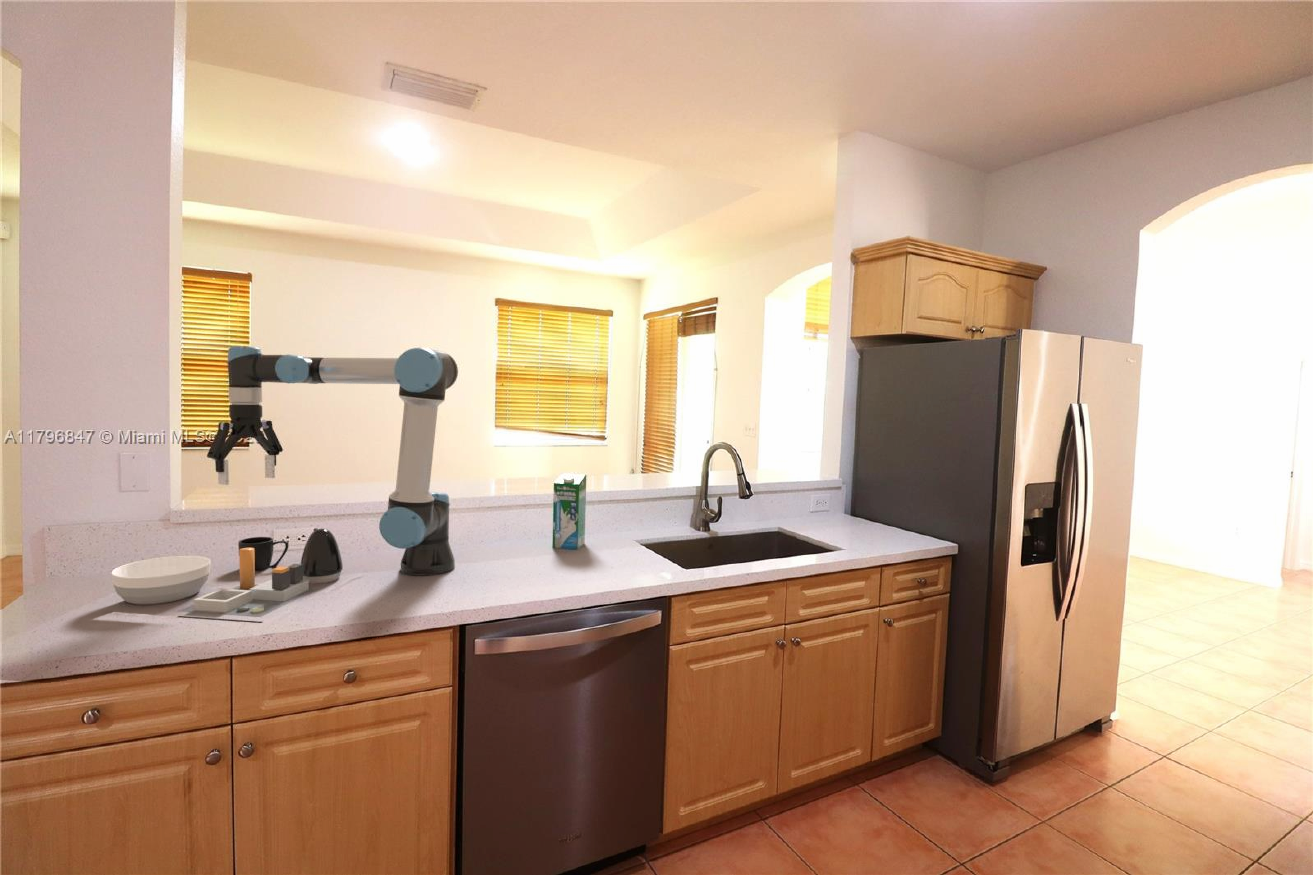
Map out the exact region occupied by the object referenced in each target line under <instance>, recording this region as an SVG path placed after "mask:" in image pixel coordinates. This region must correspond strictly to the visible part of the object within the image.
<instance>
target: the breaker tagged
mask: <svg viewBox="0 0 1313 875" xmlns="http://www.w3.org/2000/svg"><path fill="white" fill-rule="evenodd" d="M271 569H272V570H271V572H272V573H271V580H272V589H277V590H282V589H284V588H287V587H289V586H290V570H289V567H288V566H276V567H275V568H271Z"/></svg>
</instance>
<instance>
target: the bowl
mask: <svg viewBox="0 0 1313 875" xmlns="http://www.w3.org/2000/svg"><path fill="white" fill-rule="evenodd" d="M211 563H212V561H211V559H210V558H209V557H204V556H198V555H176V556H175V555H174V556H173V555H172V556H164V557H163V556H161V557H156V558H147V559H142V560H137V561H132V562H130V563H127V564H126V563H125V564H123V565H120V566H118V567H116V568H114V569H113V570H112V571H111V574H110V575H111V583H112V585H113V587H114V590H115V593H116V594H117V595H118V596H119V597H121V599H122V600H123V601H124V602H127V603H130V604H133V605H142V606H143V605H146V606H147V605H159V604H166V603H172V602H177V601H180V600H184V599H187V598H189V597H191V596H194V595H195V594H197V593H198V592H200V591H201V590H202V588H203V587H204V585H205V584H206V583H207V581H208V580H209V576H210V572H211V565H212V564H211Z"/></svg>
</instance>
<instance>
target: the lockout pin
mask: <svg viewBox="0 0 1313 875" xmlns="http://www.w3.org/2000/svg"><path fill="white" fill-rule="evenodd" d="M238 558H239V559H238V560H239V563H238V564H239V586H240V589H242V590H247V589H251V588H253V587H255V585H256V576H255V575H256V574H255V572H256V571H255V559H254V548H242V549H240V550H239V549H238Z"/></svg>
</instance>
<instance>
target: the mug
mask: <svg viewBox="0 0 1313 875" xmlns="http://www.w3.org/2000/svg"><path fill="white" fill-rule="evenodd" d="M278 544H284V545H285V546H284V549H283V551H282V554H281V555H280V557H279V558H278V559H277V561H276V562H275V563H274V564H272V559H273V555H274V546H275V545H278ZM237 545H238V551H239V550H240V549H242V548H254V559H255V572H260V571H263V570H267V569H275V568H277V567H278V566H279V564H280V562H281V561H282V559H283V558H284V557H285V555H286V553H287V552H288V550H289V545H290V544H289V541H287V540H279V541H278V540H277V541H274V538H273V537H269V536H255V537H254V536H253V537H248V538H244V539H240V540H239V541H238V544H237Z"/></svg>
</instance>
